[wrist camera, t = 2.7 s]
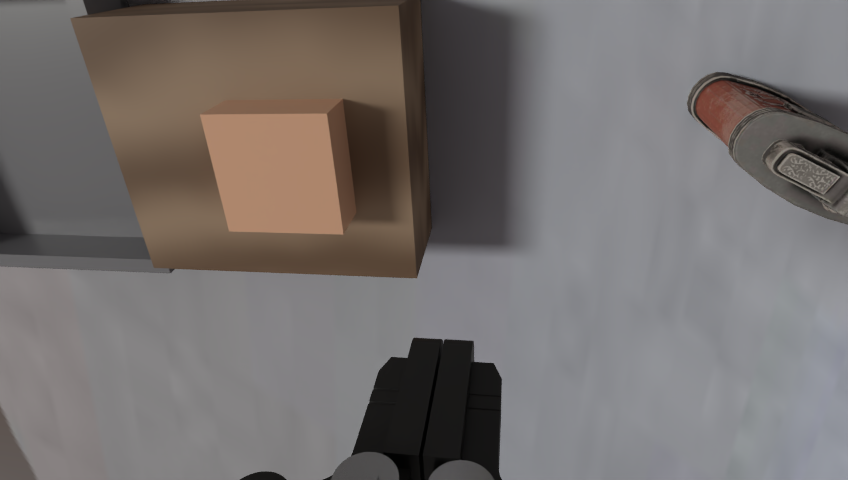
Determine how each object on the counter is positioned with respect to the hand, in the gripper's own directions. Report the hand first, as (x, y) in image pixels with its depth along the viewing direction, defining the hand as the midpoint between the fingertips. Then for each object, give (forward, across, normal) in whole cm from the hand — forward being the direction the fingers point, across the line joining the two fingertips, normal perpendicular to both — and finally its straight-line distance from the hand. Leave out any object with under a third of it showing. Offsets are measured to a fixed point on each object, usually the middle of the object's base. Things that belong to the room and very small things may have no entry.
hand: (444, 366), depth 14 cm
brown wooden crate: (+21, +12, 0) cm, 24 cm away
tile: (+15, +10, 0) cm, 18 cm away
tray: (+21, +28, 0) cm, 35 cm away
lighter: (+21, -14, 0) cm, 26 cm away
